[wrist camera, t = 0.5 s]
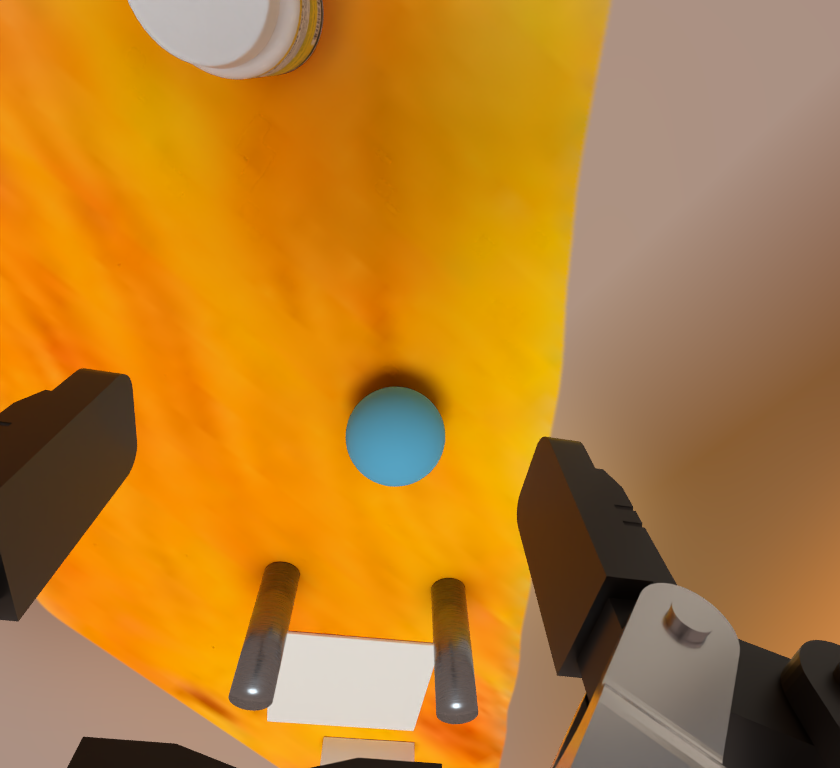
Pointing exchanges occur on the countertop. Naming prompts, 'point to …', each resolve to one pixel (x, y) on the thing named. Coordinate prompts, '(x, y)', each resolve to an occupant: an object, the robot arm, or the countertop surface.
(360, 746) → the stopper wall
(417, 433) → the ball
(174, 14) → the supplement bottle
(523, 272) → the countertop surface
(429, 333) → the countertop surface
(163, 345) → the countertop surface
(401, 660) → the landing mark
